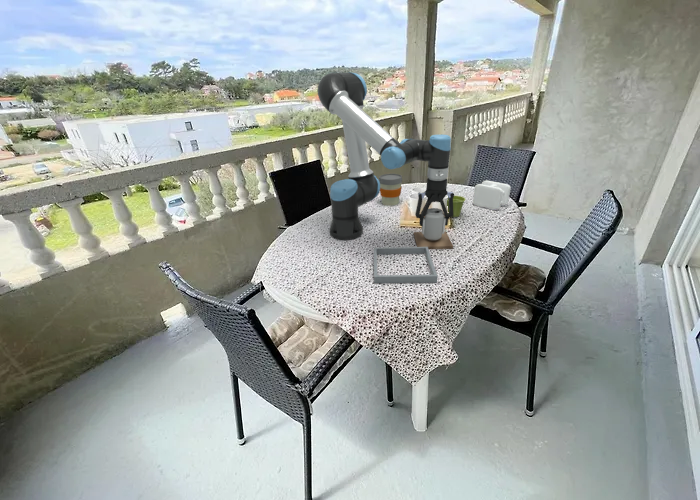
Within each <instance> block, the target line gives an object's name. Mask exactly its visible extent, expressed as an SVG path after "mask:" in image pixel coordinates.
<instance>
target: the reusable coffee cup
mask: <svg viewBox="0 0 700 500" xmlns="http://www.w3.org/2000/svg"><path fill="white" fill-rule="evenodd" d="M378 180H379V182H380V192H379V194H380V196H381V203H382V205H383V206H386V207H392V206H397V205H399V204H400V203H399V202H400V196H401V194H402V187H403V186H402V183H403V176H402V175H401V174H399V173H386V174H381V175H379V179H378Z"/></svg>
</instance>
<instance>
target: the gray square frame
mask: <svg viewBox="0 0 700 500" xmlns="http://www.w3.org/2000/svg"><path fill="white" fill-rule="evenodd" d="M412 254H413V255H416V254H417V255H419V254H420V255H421V254H424V255H425V259H426V261H427V264H428V267H429V270H430V274H387V275H386V274H380V275H379V274H378V258H377V257H378V256H377V255H412ZM431 255H432V254H431V253H430V249H428V247H417V246H400V247H399V246H398V247H397V246H394V247H393V246H391V247H385V246H384V247H373V275H374V276H373V277H374V280H373V281H374V284H408V283H409V284H411V283H414V284H415V283H416V284H418V283H419V284H420V283H422V284H423V283H425V284H426V283H437V282H438V273H437V270H436V267H435V264H434V262H433V259H432V256H431Z"/></svg>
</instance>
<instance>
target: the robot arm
mask: <svg viewBox="0 0 700 500" xmlns="http://www.w3.org/2000/svg"><path fill="white" fill-rule="evenodd" d="M367 93H368V87H367V83H366V81H365V79H364V78H363V76H361V75H360V74H358V73H357V72H351V71H347V72H346V71H345V72H330V73H327V74H325V75H324V76H322V78H320V81H319V83H318V84H317V96H318V101H320V104H321V105H322V106H323V108H325V109H326V111H328V112H329V113H330V114H331V115H336V116H337V117H338V118H340V119H341V121H342V128H343V134H344V140H345V145H346V151H347V157H348V164H349V169H350V173H349V174H348V175H347V177H348V178H345V179H342V180H341V179H340V180H337V181H335V182H333V183H332V184H331V186H330V191H329V192H330V193H329V197H330V205H331V216H332V219H331V223H330V227H329V235H330V237H332V238H333V239H335V240H338V241H348V240H354V239H357V238H359V237H361V236H362V235H363V234H364V230H363V229H364V228H363V225H362V222H361V219H360V217H359V207H361V206H363V205H365V204H368V203H369V202H371V201H373V200H374V199H376V198H377V197H378V196H379V194H380V182H379V179H378V178H377V175H375V174H374V170H372V169H371V168H370V164H369V157H368V151H367V144H368V145H369V146H370V147H371V148H372V149H373V150H374V151H375V152H377V154H379V155H380V160H381V162H382V165H383V167H384V168H386V169H388V170H395V169H399V168H401V167H403V166H405V165H407V164H408V165H409V164H410V163H412V162H414V161H421V162H427V179H426V188H425V191H424V192H418V193H417V196H418V200H417V204H416V210H415V212H414V213H415V217H416V219H419V224H418V225H419V226H420V227H421V232H422V234H424V230H425V214H426V212H427V210H428V209H430V206H431V205H432V203H440V206H441V210H442V211H443V212H442V213H443V214H444V219H443V229H442V234H444V232H445V231H446V226H448V223H449V220H450V218H454V217H453V216H454V214H453V198H454V196H455V193H454V192H453V191H448V189H447V188H448V176H449V168H450V167H449V166H450V165H449V164H450V156H451V149H452V148H451V147H452V146H451V145H452V143H451V142H452V138H451V136H450V135H448V134H431V136H430V137H429V140H427V139H426V140H425V139H414V138H403V139H402V140H401V141H400V142H399V141H398V140H396V139H395V138H394V136H392V135H391V134H390V132H388V131H387V130H385V128H383V127H382V126H381V125H380V124H379V123H377V121H376V120H374V119H373V118H372V117H371V116H370V115H369V114H368V113H366V112H365V111H364V110H363V108H364V107H365V104H364V101H365V99H366V96H367ZM425 196H426V198H427V199H426V202H425V204H424V206H423V208H422V204H423V200H424V198H425ZM447 196H448V200H449V213H447V206H446V203H445V201H444V199H445V197H447Z"/></svg>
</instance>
